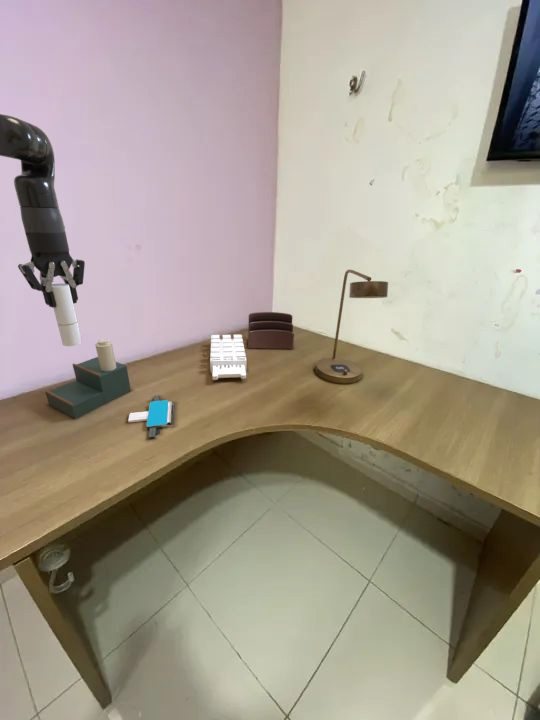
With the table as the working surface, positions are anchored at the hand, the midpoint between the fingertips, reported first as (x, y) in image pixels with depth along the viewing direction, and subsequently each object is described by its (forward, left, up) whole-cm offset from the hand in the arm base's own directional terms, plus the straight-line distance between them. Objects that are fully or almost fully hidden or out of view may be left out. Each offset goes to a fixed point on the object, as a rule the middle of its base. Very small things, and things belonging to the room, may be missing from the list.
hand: (63, 304), depth 76 cm
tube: (0, 0, -10) cm, 10 cm away
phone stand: (+18, +7, -31) cm, 37 cm away
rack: (-5, +4, -31) cm, 32 cm away
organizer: (+14, +48, -31) cm, 59 cm away
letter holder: (+19, +73, -31) cm, 82 cm away
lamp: (+57, +60, -31) cm, 88 cm away
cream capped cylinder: (-2, +9, -22) cm, 24 cm away
